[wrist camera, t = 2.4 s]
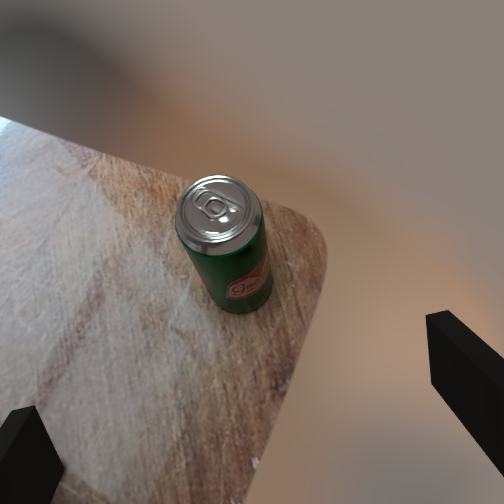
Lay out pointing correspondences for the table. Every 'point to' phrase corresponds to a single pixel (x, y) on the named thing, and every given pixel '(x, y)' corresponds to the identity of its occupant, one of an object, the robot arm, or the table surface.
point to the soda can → (226, 241)
